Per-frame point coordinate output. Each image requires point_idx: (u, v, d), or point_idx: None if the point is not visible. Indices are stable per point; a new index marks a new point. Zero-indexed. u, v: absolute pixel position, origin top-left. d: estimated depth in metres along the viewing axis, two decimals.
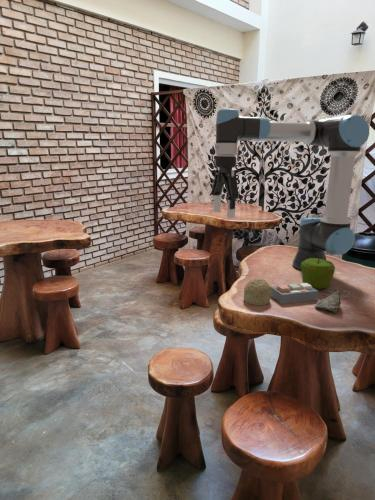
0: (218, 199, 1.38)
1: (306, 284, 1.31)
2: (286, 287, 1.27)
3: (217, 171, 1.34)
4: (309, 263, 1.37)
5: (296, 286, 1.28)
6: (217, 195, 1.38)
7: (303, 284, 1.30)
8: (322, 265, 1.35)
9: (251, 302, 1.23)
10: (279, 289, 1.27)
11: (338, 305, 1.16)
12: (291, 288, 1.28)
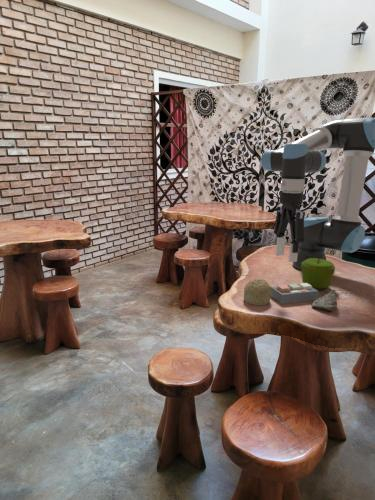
0: (282, 242, 1.27)
1: (306, 284, 1.31)
2: (286, 287, 1.27)
3: (279, 209, 1.26)
4: (309, 263, 1.37)
5: (296, 286, 1.28)
6: (281, 237, 1.27)
7: (303, 284, 1.30)
8: (322, 265, 1.35)
9: (251, 302, 1.23)
10: (279, 289, 1.27)
11: (335, 304, 1.17)
12: (291, 288, 1.28)
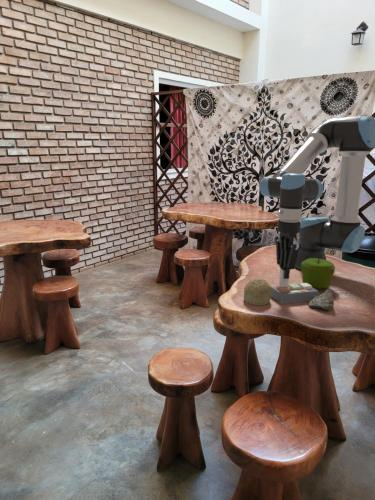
0: None
1: (306, 284, 1.31)
2: (286, 287, 1.27)
3: (277, 238, 1.28)
4: (309, 263, 1.37)
5: (296, 286, 1.28)
6: None
7: (303, 284, 1.30)
8: (322, 265, 1.35)
9: (251, 302, 1.23)
10: (279, 289, 1.27)
11: (332, 303, 1.18)
12: (291, 288, 1.28)
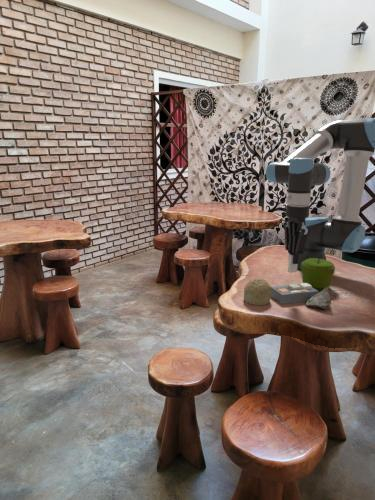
0: None
1: (306, 284, 1.31)
2: (286, 290, 1.27)
3: (286, 223, 1.28)
4: (309, 263, 1.37)
5: (296, 286, 1.28)
6: None
7: (303, 284, 1.30)
8: (322, 265, 1.35)
9: (251, 302, 1.23)
10: None
11: (329, 302, 1.19)
12: (291, 288, 1.28)
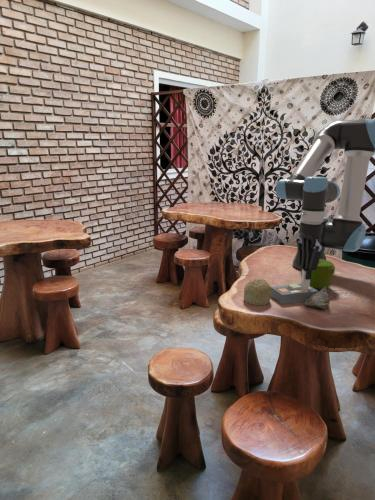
0: None
1: None
2: (286, 290, 1.27)
3: (299, 240, 1.31)
4: None
5: (296, 286, 1.28)
6: None
7: None
8: (322, 265, 1.35)
9: (251, 302, 1.23)
10: None
11: (328, 302, 1.19)
12: (291, 288, 1.28)
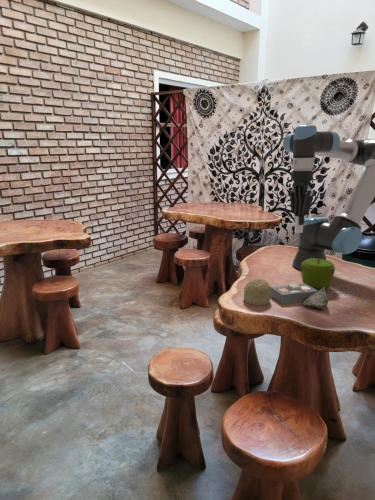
0: None
1: (306, 287, 1.31)
2: (286, 290, 1.27)
3: (291, 188, 1.39)
4: (309, 263, 1.37)
5: (296, 286, 1.28)
6: None
7: (303, 287, 1.31)
8: (322, 265, 1.35)
9: (252, 302, 1.23)
10: None
11: (326, 302, 1.19)
12: (291, 288, 1.28)
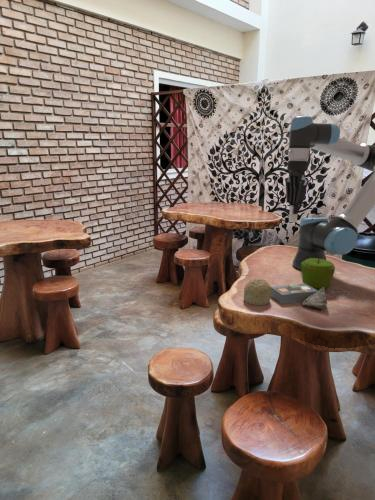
0: None
1: (306, 287, 1.31)
2: (286, 290, 1.27)
3: (287, 179, 1.42)
4: (309, 263, 1.37)
5: (296, 286, 1.28)
6: None
7: (303, 287, 1.31)
8: (322, 265, 1.35)
9: (252, 302, 1.23)
10: None
11: (325, 302, 1.19)
12: (291, 288, 1.28)
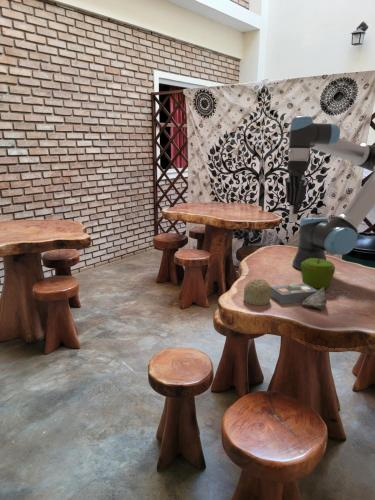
0: None
1: (306, 287, 1.31)
2: (286, 290, 1.27)
3: (287, 179, 1.42)
4: (309, 263, 1.37)
5: (296, 286, 1.28)
6: None
7: (303, 287, 1.31)
8: (322, 265, 1.35)
9: (252, 302, 1.23)
10: None
11: (325, 302, 1.19)
12: (291, 288, 1.28)
